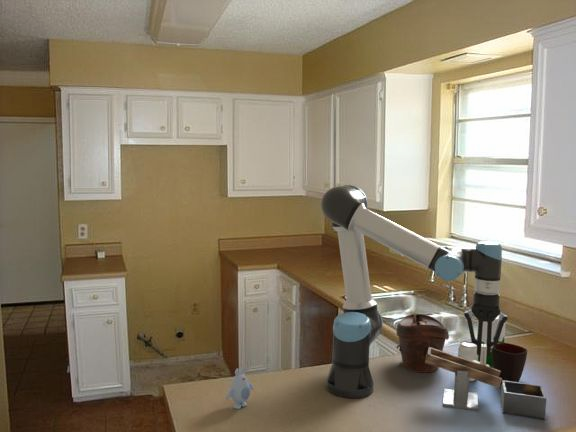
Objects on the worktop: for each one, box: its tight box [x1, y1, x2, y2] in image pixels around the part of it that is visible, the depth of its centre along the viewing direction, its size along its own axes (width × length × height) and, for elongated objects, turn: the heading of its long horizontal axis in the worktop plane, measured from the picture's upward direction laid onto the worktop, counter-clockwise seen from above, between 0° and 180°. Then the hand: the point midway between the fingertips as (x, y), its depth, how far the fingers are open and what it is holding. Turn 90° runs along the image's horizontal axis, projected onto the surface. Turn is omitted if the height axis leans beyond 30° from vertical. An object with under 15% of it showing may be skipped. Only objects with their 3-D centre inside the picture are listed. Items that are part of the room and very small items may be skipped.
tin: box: [500, 380, 547, 421], centre depth 162 cm, size 11×9×6 cm
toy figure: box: [225, 366, 254, 410], centre depth 159 cm, size 11×6×12 cm, turn 136°
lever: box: [425, 347, 502, 389], centre depth 169 cm, size 22×14×3 cm, turn 73°
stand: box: [442, 369, 479, 412], centre depth 167 cm, size 10×11×11 cm
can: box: [457, 340, 478, 383], centre depth 184 cm, size 6×6×12 cm
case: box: [396, 313, 450, 373], centre depth 194 cm, size 18×20×18 cm
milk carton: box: [476, 315, 507, 368], centre depth 198 cm, size 9×9×20 cm
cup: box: [492, 342, 528, 386], centre depth 182 cm, size 10×14×12 cm
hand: (482, 365), depth 171 cm, fingers closed
